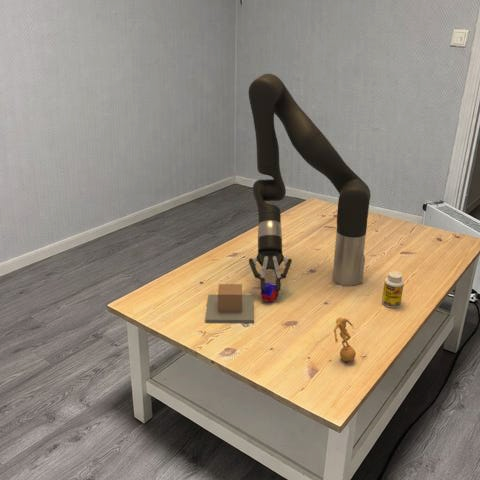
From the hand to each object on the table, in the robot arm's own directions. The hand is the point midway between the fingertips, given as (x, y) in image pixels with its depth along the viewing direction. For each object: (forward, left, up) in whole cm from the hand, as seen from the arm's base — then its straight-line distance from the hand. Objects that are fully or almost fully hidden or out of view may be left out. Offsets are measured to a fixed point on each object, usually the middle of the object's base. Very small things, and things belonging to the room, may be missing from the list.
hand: (270, 291), depth 160 cm
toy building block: (0, -2, -4) cm, 5 cm away
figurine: (-18, +27, -4) cm, 33 cm away
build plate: (+12, +4, -4) cm, 13 cm away
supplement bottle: (-37, 0, -4) cm, 37 cm away
